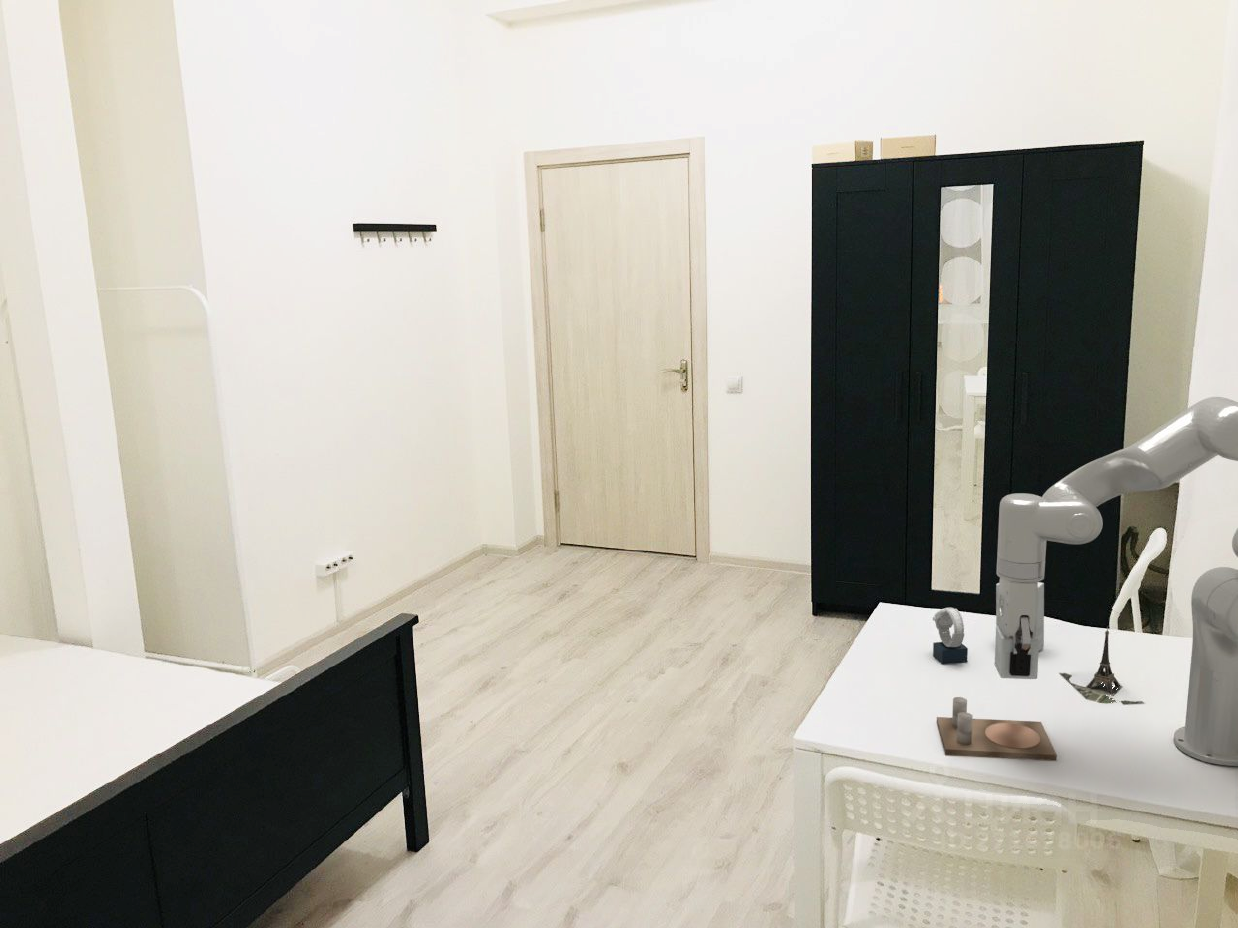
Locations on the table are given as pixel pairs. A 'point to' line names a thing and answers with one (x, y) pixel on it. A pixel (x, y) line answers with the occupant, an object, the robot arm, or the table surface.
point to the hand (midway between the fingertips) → (1015, 665)
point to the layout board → (992, 736)
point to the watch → (949, 637)
